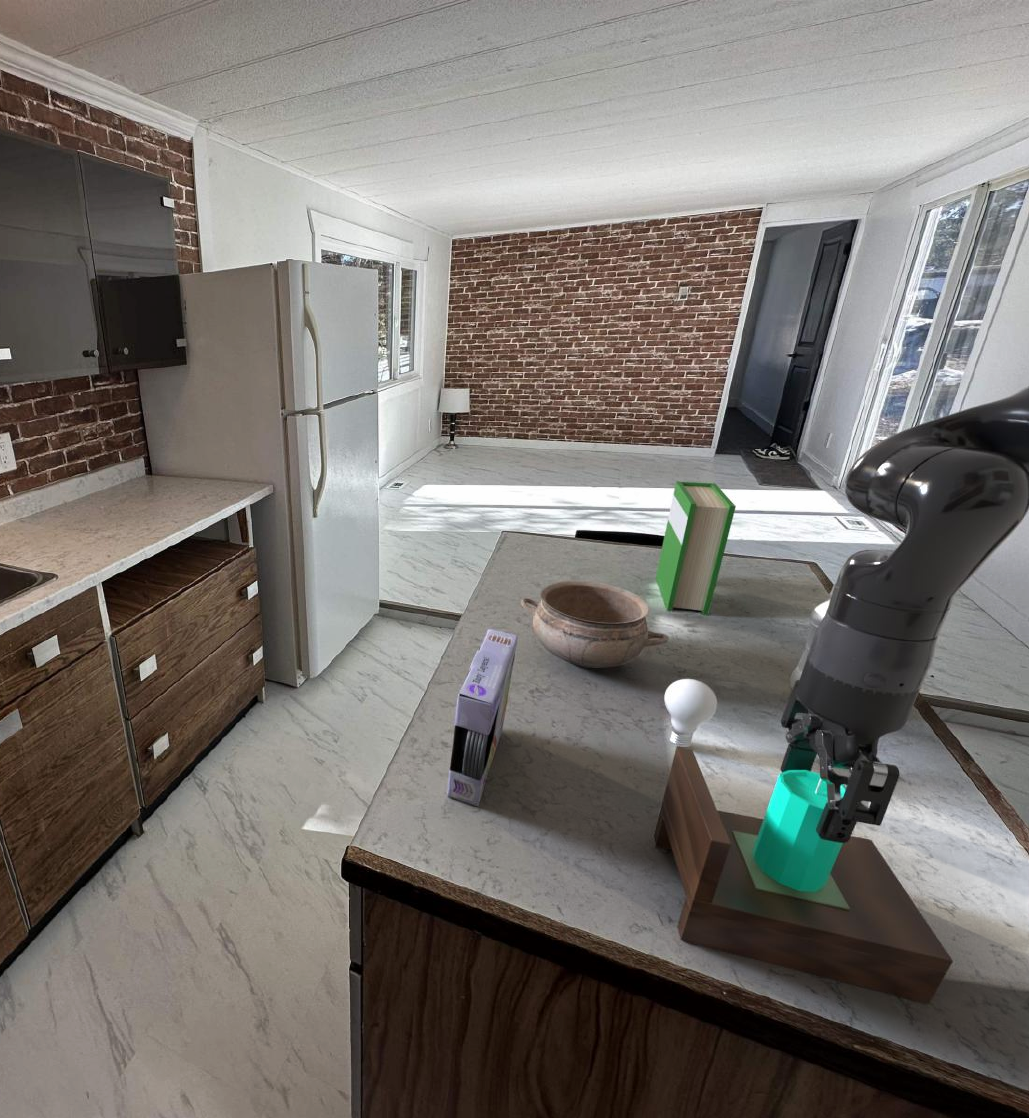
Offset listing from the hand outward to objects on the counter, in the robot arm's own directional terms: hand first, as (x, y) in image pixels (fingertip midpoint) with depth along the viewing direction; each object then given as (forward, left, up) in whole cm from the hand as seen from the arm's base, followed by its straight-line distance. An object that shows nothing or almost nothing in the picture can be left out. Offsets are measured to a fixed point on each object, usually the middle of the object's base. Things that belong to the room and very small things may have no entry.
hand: (810, 805), depth 59 cm
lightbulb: (+3, -27, -15) cm, 31 cm away
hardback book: (-9, -83, -15) cm, 85 cm away
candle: (0, 0, -9) cm, 9 cm away
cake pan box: (+31, -14, -15) cm, 37 cm away
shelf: (0, 0, -15) cm, 15 cm away
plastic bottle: (-20, -46, -15) cm, 52 cm away
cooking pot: (+14, -49, -15) cm, 53 cm away
